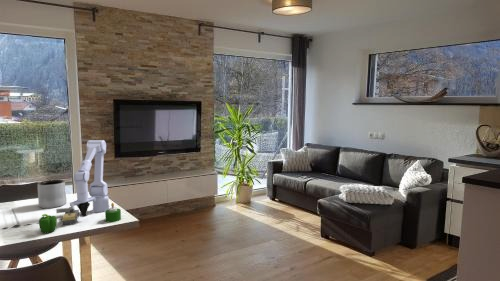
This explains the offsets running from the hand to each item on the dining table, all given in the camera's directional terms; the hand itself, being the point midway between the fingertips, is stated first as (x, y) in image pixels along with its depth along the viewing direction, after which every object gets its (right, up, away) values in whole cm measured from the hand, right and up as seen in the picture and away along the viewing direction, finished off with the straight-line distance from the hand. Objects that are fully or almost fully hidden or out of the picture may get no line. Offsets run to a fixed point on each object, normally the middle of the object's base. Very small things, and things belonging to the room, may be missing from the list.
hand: (83, 215), depth 208 cm
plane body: (-9, -3, +3) cm, 10 cm away
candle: (+16, -3, +2) cm, 16 cm away
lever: (-15, +1, +8) cm, 17 cm away
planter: (-35, 0, +32) cm, 47 cm away
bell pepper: (-11, -5, -17) cm, 21 cm away
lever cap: (-7, -1, -2) cm, 7 cm away
